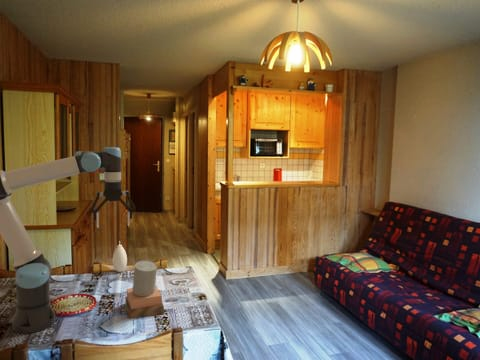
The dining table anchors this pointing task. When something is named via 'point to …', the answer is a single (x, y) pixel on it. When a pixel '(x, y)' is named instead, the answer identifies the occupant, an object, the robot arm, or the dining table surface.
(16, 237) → the robot arm
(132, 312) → the tower base
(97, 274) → the dining table surface
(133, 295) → the brown square block
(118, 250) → the cream ovoid candle
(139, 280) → the grey cylinder
